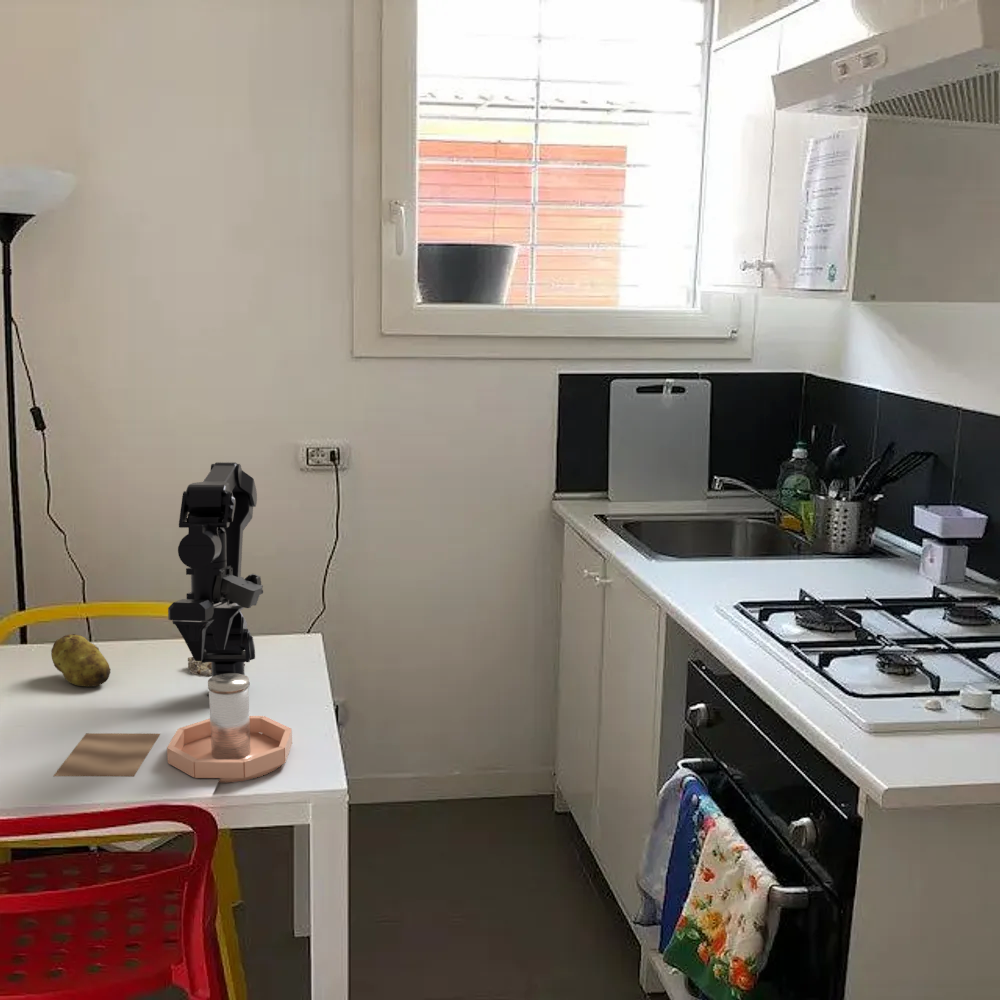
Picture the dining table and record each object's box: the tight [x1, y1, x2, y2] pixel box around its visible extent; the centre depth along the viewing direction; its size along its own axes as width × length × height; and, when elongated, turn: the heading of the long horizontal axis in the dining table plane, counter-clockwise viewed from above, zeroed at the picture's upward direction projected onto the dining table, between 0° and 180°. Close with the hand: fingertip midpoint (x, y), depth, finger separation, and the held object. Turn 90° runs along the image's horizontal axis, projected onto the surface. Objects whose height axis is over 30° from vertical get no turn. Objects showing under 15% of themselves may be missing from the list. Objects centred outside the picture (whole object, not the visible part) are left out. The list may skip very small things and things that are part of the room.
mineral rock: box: [187, 656, 246, 677], centre depth 231 cm, size 11×4×8 cm
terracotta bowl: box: [166, 715, 293, 784], centre depth 191 cm, size 18×18×4 cm
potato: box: [50, 633, 111, 687], centre depth 223 cm, size 8×13×8 cm, turn 34°
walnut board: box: [53, 732, 161, 777], centre depth 191 cm, size 16×12×1 cm
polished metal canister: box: [207, 673, 251, 760], centre depth 190 cm, size 6×6×12 cm
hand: (210, 655), depth 201 cm, fingers open, 9 cm apart
